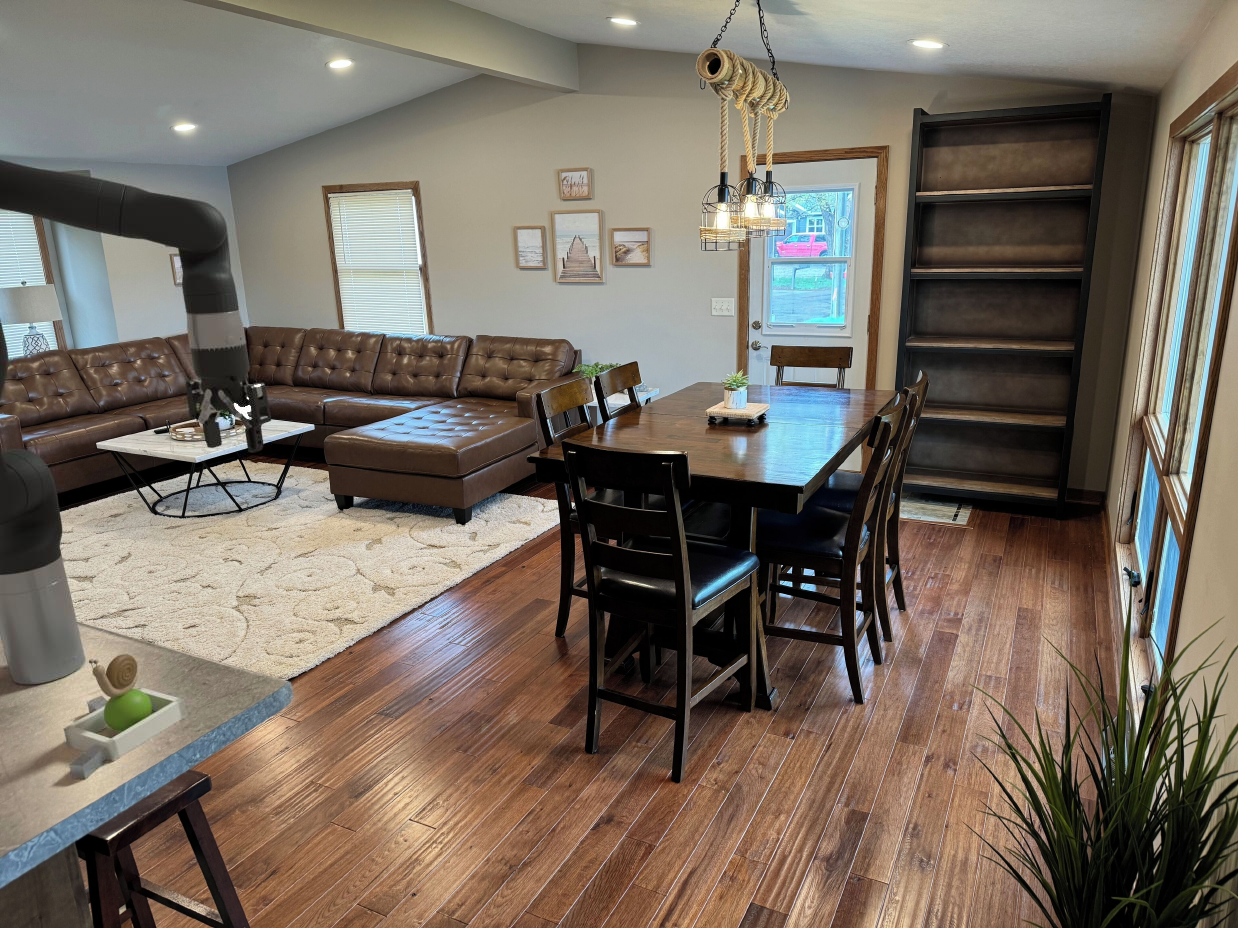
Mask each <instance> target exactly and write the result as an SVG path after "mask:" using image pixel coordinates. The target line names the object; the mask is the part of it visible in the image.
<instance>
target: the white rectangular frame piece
mask: <svg viewBox="0 0 1238 928" xmlns="http://www.w3.org/2000/svg"><path fill="white" fill-rule="evenodd" d="M135 689H137V690H140V691H142V692H144V693H145V694H146V695H147V696H148V697H149V698H150V700H151V704H152V711H153V713H151V715H150V716H149V717H147V718H145V719H143V720H142V721H140V722H138V723H137V724H135V725H133V726H132V727H130V728H128V729H127V730H125V731H123V732H119V733H118V734H116V735H115V736H113V737H112V738H109V737H107V736H104V735H101V734H98V733H99V732H100V731H103V730H104V729H106V728H107V727H109V726H108V725H107V723H106V722H105V719H104V708H105V705H106V703H107V702H108V700H107V698H105V697H103V695H100V696H97V697H95V698H93V699H90V700H87V702H86V703H87V707H88V713H89V714H87V715H86V716H84V717H82V718H80V719H78V720H76V721H75V722H73V723H71V724H69V725H67V726H66V727H64V728H63V733H64V736H65V737H64V738H65V740H66V744H67V747H70V748H74V749H76V750H79V751H82V752H83V753H82V754H80V756H78V757H77V758H76V759H74V760H73V761H72V762H71V763H70V764H69V765H68V766H69V769H70V774H71V778H72V779H80V780H81V779H82V780H86V779H87V778H89V777H90V776H91V775H92V774H93V773H95V771H97V770H98V769H99V768H101V767H102V766H103V765H104V764H105V763H106V762H108V761H112V762H115V761H116V760H118V759H119V758H121V757H122V756H125V755H126V754H128V753H129V752H131V751H132V750H134V749H135V748H138V746H141V745H142V744H144V743H145V742H147V741H149V740H150V739H152V738H153V737H155V736H157V735H158V734H161V733H162V732H163V731H165V730H166V729H168V728H170V727H172V726H173V725H175V724H176V723H178V722H179V721H181V720H183V719H185V718H186V717H187V716H188V715H187V709H186V705H185V700H184V699H183V698H180V697H177V696H176V697H175V696H173V695H170V694H167V693H166V694H165V693H162V692H159V691H156V690H152V689H149V688H148V689H147V688H145V687H141V686H138V687H136V688H135Z"/></svg>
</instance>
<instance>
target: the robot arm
mask: <svg viewBox="0 0 1238 928" xmlns="http://www.w3.org/2000/svg"><path fill="white" fill-rule="evenodd" d="M0 210H3V211H8V212H9V211H10V212H15V213H21V214H24V215H25V214H26V215H29V216H33V217H38V218H42V219H45V220H49V221H52V222H55V223H59V224H62V225H66V226H70V227H74V228H78V229H82V230H87V231H92V232H97V233H101V234H107V235H110V236H116V237H122V238H128V239H135V240H145V241H148V242H149V241H150V242H152V243H156V244H160V245H162V246H163V245H164V246H168V247H171V248H176V249H178V255H179V260H180V261H179V262H180V265H181V269H182V278H181V285H182V287H181V288H182V289H181V290H182V295H183V301H184V302H183V303H184V306H185V307H184V308H185V313H186V331H187V336H188V343H189V349H190V354H191V360H192V366H193V372H194V376H196V377H198V378H194V379H190V380H187V381H186V382H185V391H186V397H187V406H188V414H189V417H190V419H192V420H197V421H198V422H199V423H200V424H201V425H202V429H203V436H204V441H205V443H206V447H207V448H209V449H210V448H211V449H214V448H218V447H221V446H222V444H223V443H222V442H223V439H222V434H221V428H220V424H219V423H220V422H219V421H217V420H218V418H219V415H220V414H221V412H222V411H225V412H230V413H232V415H233V416H234V417H235V418H238V419H239V420H240V421H241V423H242V424H243V426H244V433H245V440H246V446H247V451H248V452H249V453H257V452H260V451H262V450H263V448H264V438H263V431H262V430H263V429H262V425H264V424H266V423H270V422H271V421H272V415H271V411H270V405H269V398H268V394H267V388H266V385H265V383H264V382H257V383H253V384H250V383H249V381H248V380H247V374H248V373H249V372H250V371H251V369H250V368H251V367H250V363H249V362H250V361H249V355H248V348H247V341H246V335H245V334H246V333H245V329H244V323H243V319H242V318H241V317H242V316H241V314H240V313H241V312H240V308H239V307H240V306H239V302H238V294H237V289H236V284H235V280H234V277H233V274H232V268H231V267H232V266H231V265H232V263H231V254H230V244H229V234H228V233H229V232H228V226H227V221H226V219H225V217H224V216H223V214H222V213H221V211H220V210H219V209H217V207H215V206H214V205H211V204H210V203H208V202H205V201H202V200H197V199H192V198H186V197H180V196H177V195H176V196H175V195H169V194H164V193H158V192H151V191H147V190H144V189H142V188H140V187H137V186H132V185H129V184H124V183H120V182H116V181H111V180H107V179H102V178H97V177H92V176H87V175H81V174H76V173H69V172H64V171H56V170H49V169H45V168H44V169H43V168H37V167H33V166H27V165H22V164H18V163H14V162H10V161H7V160H3V159H0ZM1 320H2V319H1V318H0V401H1V399H2V396H3V391H4V388H5V384H6V380H7V376H8V375H7V374H8V370H9V369H8V368H9V352H8V347H7V346H8V345H7V341H6V336H5V333H4V328H3V325H2V324H3V323H2V321H1ZM197 404H198V405H199V409H198V407H197ZM244 406H245V407H244ZM260 410H261V414H260ZM55 483H56V482H55V480H54V476H53V474H52V472H51V470H50V467H48V465H47V463H46V462H45V460H43V459H42V458H41V456H39V455H38V454H37V453H35V452H32V450H31V451H30V450H28V449H23V448H12V449H5V450H3V451H2V449H1V448H0V641H1V644H2V648H3V652H4V655H5V659H6V664H7V668H8V672H9V673H10V675H11V678H12V681H13V682H14V683H16V684H20V685H36V684H37V685H38V684H43V683H49V682H52V681H55V680H59V679H61V678H64V677H67V676H69V675H70V674H72V673H74V672H76V671H77V670H78V669H80V668H81V667H83V665H84V664H85V662H86V655H85V652H84V647H83V642H82V638H81V634H80V630H79V626H78V620H77V616H76V611H75V607H74V603H73V598H72V594H71V590H70V587H69V580H68V577H67V573H66V569H65V565H64V564H65V563H64V560H63V555H62V550H61V540H62V538H63V537H62V536H63V523H62V518H61V512H60V511H61V510H60V504H59V500H58V499H59V498H58V493H57V487H56V484H55Z"/></svg>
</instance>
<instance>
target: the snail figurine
mask: <svg viewBox="0 0 1238 928" xmlns="http://www.w3.org/2000/svg"><path fill="white" fill-rule="evenodd" d="M88 664H90V665H91V668H92V676H94V677H95V679H96V682H97V685H98V686H99V688H100V690H101V691H102V692H103V694H104V695H105V696H107V697H109V699H108V700H107V701H108V702H107V703H106V705H105V708H104V719H105V722H106V723H107V725H108V727H109V728H110V729H111V730H113V731H115V732H119V733H121V732H123V731H125V730H127V729H128V728H130V727H132V726H133V725H135V724H137V723H138V722H140V721H142V720H143V719H145V718H147V717H149V716H150V715H152V711H153V710H152V704H151V700H150V698H149V697H148V696H147V695H146V694H145V693H144V692H142V691H140V690H137V689H136V688H134V687H135V686H136V684H137V682H138V662H137V660H136V659H135V657H134V656H132V655H131V654H129V653H128V654H127V653H123V654H119V655H117V656H116V657H114V658H113V659H112V660H111V661H110V662H109V664H108V666H107V668H106V667H105V666H103V665H99V660H98V659H94V658H93V659H92V658H91V659H90V658H89V660H88ZM93 664H94V665H95V666H93Z"/></svg>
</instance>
